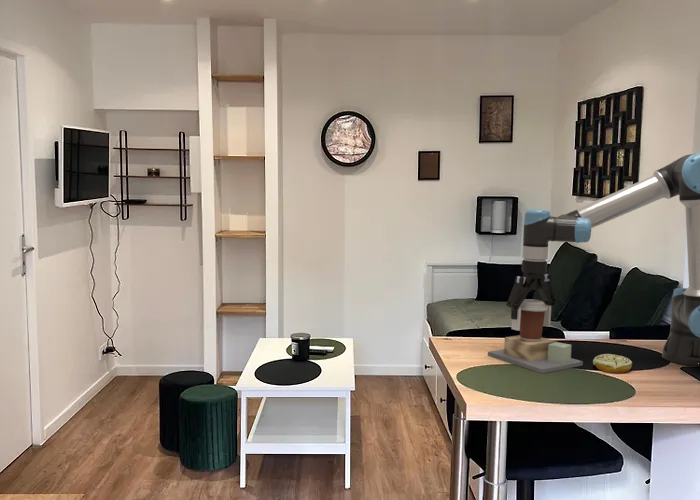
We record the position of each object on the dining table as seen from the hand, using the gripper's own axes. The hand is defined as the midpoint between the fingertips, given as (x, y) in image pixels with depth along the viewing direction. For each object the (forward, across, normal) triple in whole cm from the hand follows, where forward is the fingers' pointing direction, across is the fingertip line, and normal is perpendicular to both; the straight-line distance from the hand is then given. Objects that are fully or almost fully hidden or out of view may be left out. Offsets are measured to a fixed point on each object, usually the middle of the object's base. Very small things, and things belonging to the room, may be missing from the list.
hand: (531, 327), depth 205 cm
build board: (+10, 0, +2) cm, 10 cm away
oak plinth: (+9, 0, 0) cm, 9 cm away
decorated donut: (+10, -14, +20) cm, 26 cm away
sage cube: (+9, -3, +9) cm, 13 cm away
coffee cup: (+4, 0, 0) cm, 4 cm away
